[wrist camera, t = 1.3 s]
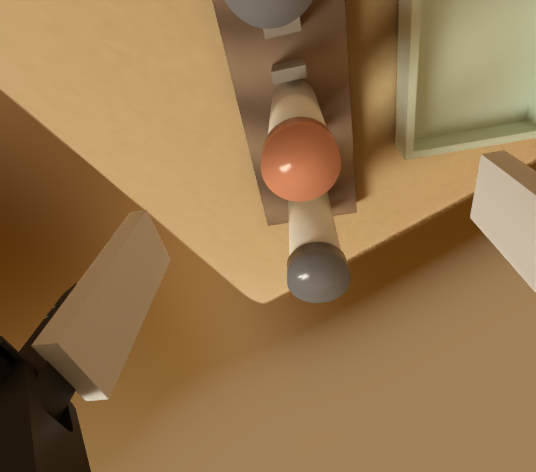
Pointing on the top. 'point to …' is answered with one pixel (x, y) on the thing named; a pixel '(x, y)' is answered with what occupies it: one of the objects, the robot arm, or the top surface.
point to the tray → (464, 75)
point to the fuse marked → (298, 145)
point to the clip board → (288, 69)
